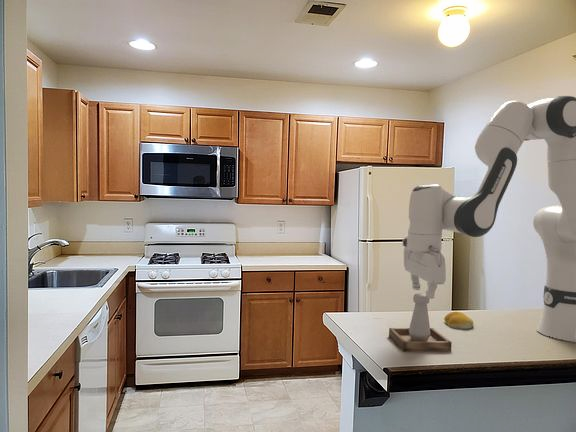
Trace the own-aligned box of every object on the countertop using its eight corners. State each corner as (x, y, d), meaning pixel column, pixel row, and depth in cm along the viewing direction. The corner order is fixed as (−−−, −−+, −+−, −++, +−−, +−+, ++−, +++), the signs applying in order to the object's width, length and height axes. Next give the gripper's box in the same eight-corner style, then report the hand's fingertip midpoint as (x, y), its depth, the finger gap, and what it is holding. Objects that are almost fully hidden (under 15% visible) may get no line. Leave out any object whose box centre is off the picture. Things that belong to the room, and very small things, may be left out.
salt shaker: (430, 345, 123) (433, 297, 122) (408, 342, 124) (411, 295, 123) (428, 338, 128) (431, 292, 127) (407, 336, 129) (410, 291, 129)
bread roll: (452, 330, 140) (453, 317, 140) (441, 321, 149) (441, 309, 148) (478, 330, 140) (479, 317, 140) (465, 321, 149) (466, 309, 149)
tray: (432, 336, 133) (432, 327, 133) (451, 351, 121) (451, 342, 121) (388, 336, 131) (389, 328, 131) (403, 351, 119) (404, 342, 119)
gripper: (453, 249, 114) (451, 303, 115) (421, 239, 134) (419, 285, 135) (429, 249, 113) (427, 303, 114) (400, 239, 134) (398, 285, 135)
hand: (422, 293), depth 125 cm, fingers open, 8 cm apart
